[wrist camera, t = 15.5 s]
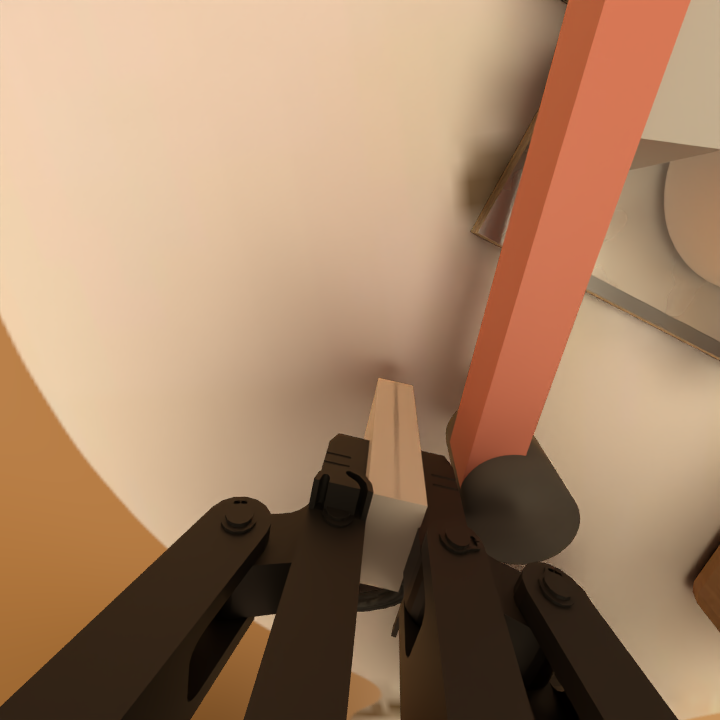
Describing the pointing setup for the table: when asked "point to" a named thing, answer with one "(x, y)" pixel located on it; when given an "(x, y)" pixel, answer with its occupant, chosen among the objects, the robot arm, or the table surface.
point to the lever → (572, 243)
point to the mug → (695, 212)
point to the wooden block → (709, 589)
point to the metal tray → (630, 256)
